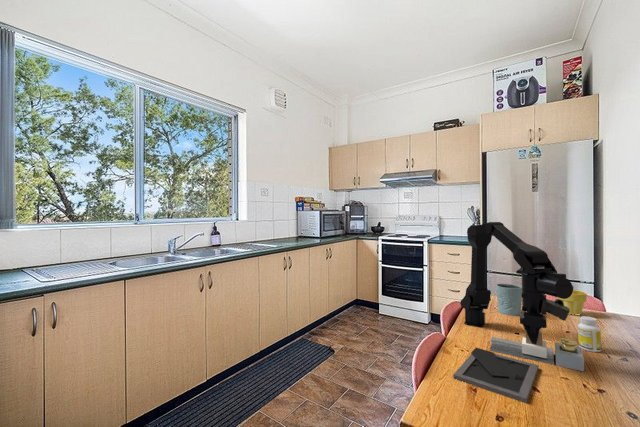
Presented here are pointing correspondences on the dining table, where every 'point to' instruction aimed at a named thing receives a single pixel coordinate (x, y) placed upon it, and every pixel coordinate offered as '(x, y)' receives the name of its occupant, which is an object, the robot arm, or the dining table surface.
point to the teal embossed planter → (509, 299)
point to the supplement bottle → (589, 334)
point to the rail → (550, 361)
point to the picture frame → (498, 374)
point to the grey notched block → (569, 358)
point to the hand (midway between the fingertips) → (534, 341)
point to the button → (568, 345)
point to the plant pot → (575, 302)
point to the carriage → (534, 346)
